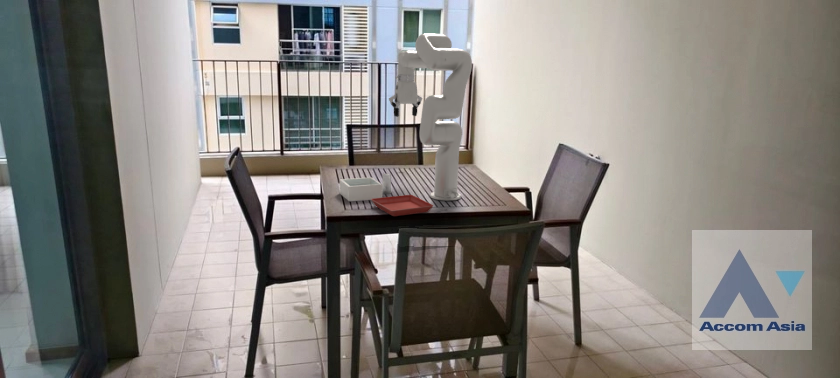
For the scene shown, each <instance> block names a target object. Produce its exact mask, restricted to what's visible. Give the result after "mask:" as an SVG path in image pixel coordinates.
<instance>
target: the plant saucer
mask: <svg viewBox="0 0 840 378" xmlns="http://www.w3.org/2000/svg"><path fill="white" fill-rule="evenodd" d="M370 201H372V203H373V204H374V206H375V207H376V208H378V209H380V210H381V211H384V212H385V213H386V214H388V215H390V216H392V217H398V216H407V215H414V214H422V213H428V212H429V211H430V210H431V209H432V208H433V207H434V204H431V203H429V202H428V201H425V200H424V199H421V198H419V197H417V196H415V195H413V194H404V195H403V194H402V195H395V196H382V198H374V199H371V200H370Z"/></svg>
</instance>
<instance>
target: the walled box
mask: <svg viewBox="0 0 840 378" xmlns="http://www.w3.org/2000/svg"><path fill="white" fill-rule="evenodd" d="M339 194H340V195H341V196H342V197H343V198H344V199H345V200H347V202H359V201H372V200H371V199H374V198H383V193H382V183H381V182H379V181H378V180H377V179H375V178H374V177H372V176H371V177H356V178H342V179H341V178H340V179H339Z"/></svg>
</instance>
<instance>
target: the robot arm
mask: <svg viewBox="0 0 840 378" xmlns="http://www.w3.org/2000/svg"><path fill="white" fill-rule="evenodd" d="M452 44H453V42H452V41H451V38H449V36H447V35H445V34H441V33H422V34H420V35H418V37H417V38H416V41H415V46H414V47H415V50H403V51H399V53H398V55H397V56H398V57H397V58H398V61H397V62H398V63H397V64H398V66H397V67H398V68H397V69H398V70H397V72H398V73H397V75H396V76H395V79H396V80H397V81H396V84H395V90H394V94H393V95H392V96H391V97H389V98H388V101H389V103H390V105H391V106H392V107H393V116H394V117H399V116H400V108H399V107H400V105H412V108H411V109H412V110H411V113H412V114H411V115H412V116H413V117H418V116H417V115H418V108H419V107H420V105H421V104H422V101H423V97H422V96H421V95H419V94H418V86H417V82H416V81H415V69H429V70H431V71H436V72H437V71H443V72H444V71H448V72H451V71H452V72H451V74H449V75H448V77H447V79H445V82H444V84H443V85H444V86H443V91H442V94H432V95H429V96H427V97H426V98H425V99H424V101H423V104H422V110H421V116H420V117H421V118H420V125H419V141H420V143H422V144H423V145H424V146H439V147H438V148H437V151H436V152H435V161H434V162H435V163H434V189H433V190H434V191H433V192H431V193H430V195H429V196H430V198H432V199H433V200H437V201H446V202H448V201H457V200H460V199H461V198H462V195H461V193H459V192H458V184H459V183H458V182H459V159H460V156H459V155H460V147H461V141H462V138H463V128H462V125H460V123H459V122H457V121H453V120H454V119H458V118H460V117H461V115H462V111H463V107H464V101H465V93H466V89H467V84H468V81H469V78H470V75H471V74H472V73H471V72H472V67H473V60H472V56H471V55H470V53H469V52H468V51H467V50H464V49H461V48H452V47H453V45H452ZM439 120H441V121H439Z"/></svg>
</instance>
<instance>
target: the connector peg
mask: <svg viewBox="0 0 840 378" xmlns="http://www.w3.org/2000/svg"><path fill="white" fill-rule="evenodd" d="M381 182H382V183H381V184H382V195H390V194H392V174H391V173H383V174H382V181H381Z"/></svg>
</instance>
